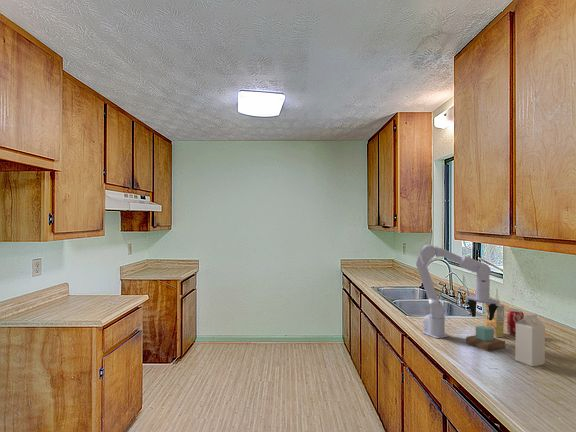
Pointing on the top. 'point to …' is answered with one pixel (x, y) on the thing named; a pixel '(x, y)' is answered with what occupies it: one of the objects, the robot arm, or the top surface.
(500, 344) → the walnut block
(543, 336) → the milk carton
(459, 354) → the top surface
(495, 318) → the candy box
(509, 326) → the soda can
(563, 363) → the top surface
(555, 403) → the top surface
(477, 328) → the teal cube
